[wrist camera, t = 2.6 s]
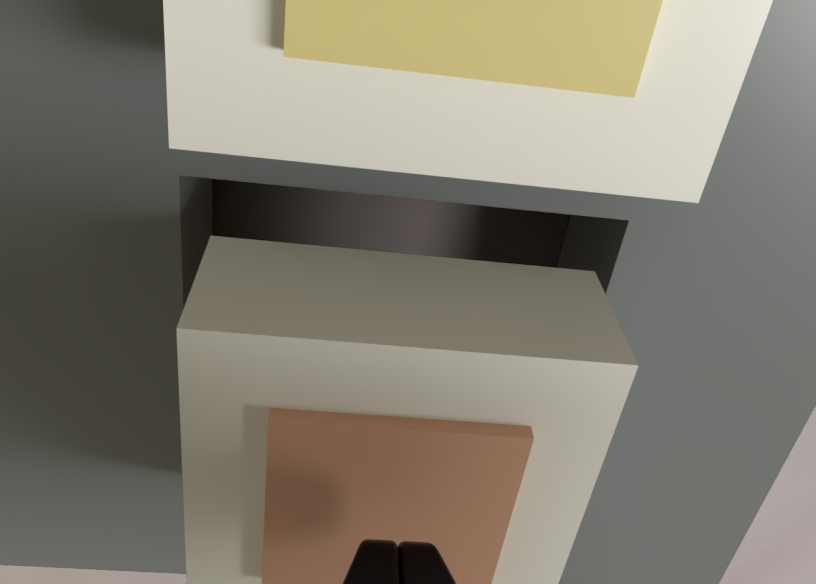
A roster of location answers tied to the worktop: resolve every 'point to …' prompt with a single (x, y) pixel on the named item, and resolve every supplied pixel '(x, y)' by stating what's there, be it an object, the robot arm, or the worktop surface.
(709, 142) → the key
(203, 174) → the keypad board
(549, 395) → the key
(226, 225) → the worktop surface
